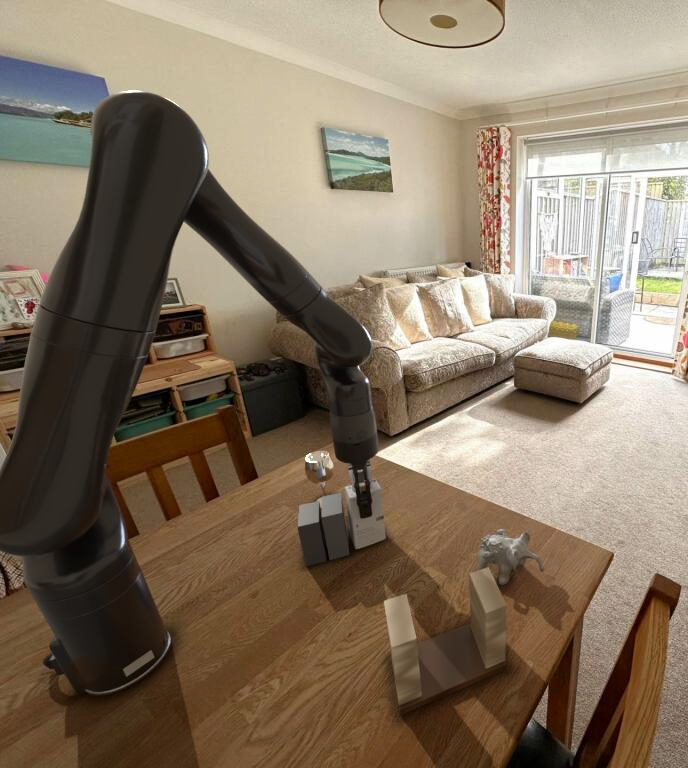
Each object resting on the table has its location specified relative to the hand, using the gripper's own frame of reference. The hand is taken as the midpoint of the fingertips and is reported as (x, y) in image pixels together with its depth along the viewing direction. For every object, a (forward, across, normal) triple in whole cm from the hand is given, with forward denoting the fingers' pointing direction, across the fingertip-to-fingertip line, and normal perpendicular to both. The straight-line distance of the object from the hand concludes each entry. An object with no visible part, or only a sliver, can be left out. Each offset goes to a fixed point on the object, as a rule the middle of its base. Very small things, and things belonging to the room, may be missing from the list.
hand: (365, 507), depth 78 cm
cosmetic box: (+8, 0, 0) cm, 8 cm away
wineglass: (+8, -16, -8) cm, 19 cm away
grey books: (+8, 0, -8) cm, 11 cm away
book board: (+8, +30, +8) cm, 32 cm away
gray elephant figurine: (+8, +18, +23) cm, 31 cm away
